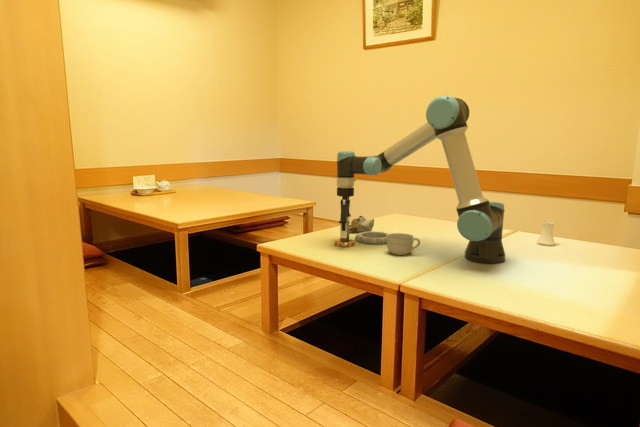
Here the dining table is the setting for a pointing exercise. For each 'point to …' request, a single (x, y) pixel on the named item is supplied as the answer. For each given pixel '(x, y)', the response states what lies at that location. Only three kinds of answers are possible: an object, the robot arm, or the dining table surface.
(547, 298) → the dining table surface
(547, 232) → the vase
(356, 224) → the ceramic sculpture
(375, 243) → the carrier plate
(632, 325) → the dining table surface
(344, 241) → the sun gear
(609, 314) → the dining table surface
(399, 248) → the teacup
